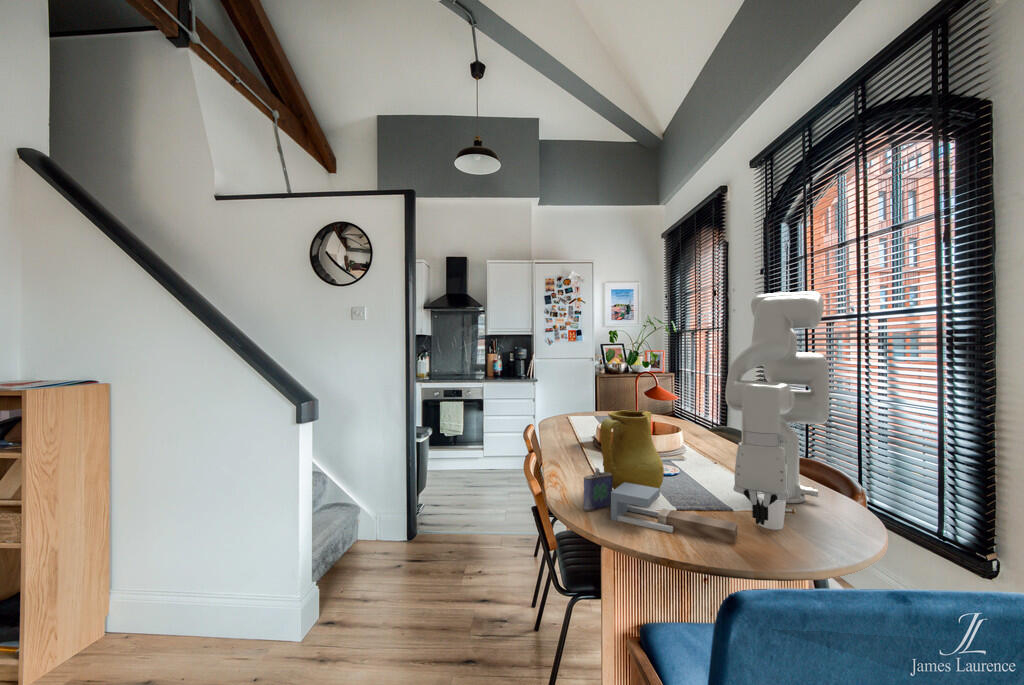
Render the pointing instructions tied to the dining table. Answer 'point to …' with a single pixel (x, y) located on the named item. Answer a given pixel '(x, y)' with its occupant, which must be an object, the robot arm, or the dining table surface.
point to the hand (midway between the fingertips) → (760, 522)
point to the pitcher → (630, 449)
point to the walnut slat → (699, 525)
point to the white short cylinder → (774, 513)
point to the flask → (597, 491)
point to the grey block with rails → (636, 496)
